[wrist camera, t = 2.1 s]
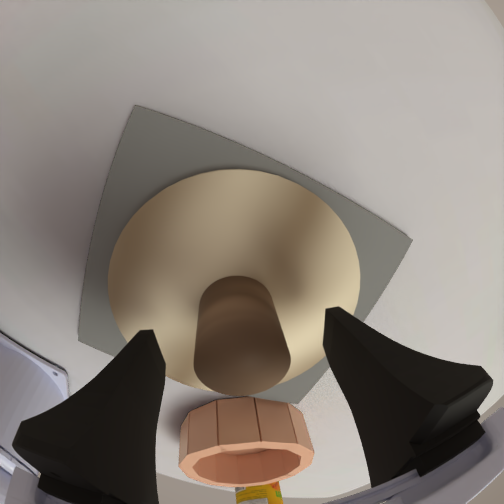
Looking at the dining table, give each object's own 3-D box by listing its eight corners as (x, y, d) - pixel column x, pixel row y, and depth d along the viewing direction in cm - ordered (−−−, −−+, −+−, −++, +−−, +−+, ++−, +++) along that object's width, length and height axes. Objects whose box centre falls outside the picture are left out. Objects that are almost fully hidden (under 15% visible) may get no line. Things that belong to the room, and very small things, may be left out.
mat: (80, 336, 14) (78, 340, 14) (138, 106, 10) (135, 105, 10) (296, 399, 18) (297, 403, 18) (408, 237, 14) (412, 240, 14)
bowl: (171, 443, 20) (168, 478, 16) (204, 384, 17) (203, 432, 13) (268, 457, 22) (273, 488, 18) (324, 405, 19) (339, 443, 15)
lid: (98, 344, 14) (72, 401, 10) (160, 125, 10) (121, 111, 6) (283, 397, 17) (297, 452, 13) (393, 237, 13) (449, 274, 9)
